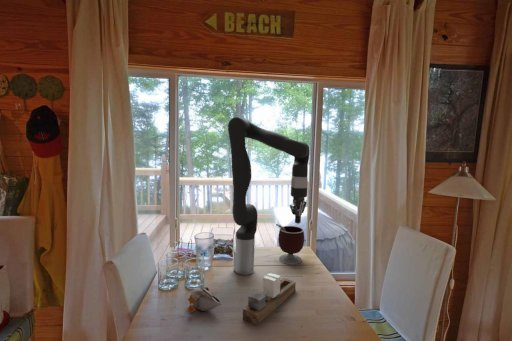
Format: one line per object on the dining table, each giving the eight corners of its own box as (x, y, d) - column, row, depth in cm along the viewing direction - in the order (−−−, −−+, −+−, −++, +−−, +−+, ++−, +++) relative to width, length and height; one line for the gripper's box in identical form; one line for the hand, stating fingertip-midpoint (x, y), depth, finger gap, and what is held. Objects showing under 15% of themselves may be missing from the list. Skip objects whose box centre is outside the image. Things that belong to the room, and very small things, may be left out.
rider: (262, 299, 116) (262, 276, 115) (268, 293, 120) (269, 272, 119) (273, 303, 113) (274, 280, 112) (279, 298, 117) (280, 275, 116)
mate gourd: (300, 254, 168) (301, 220, 166) (305, 265, 154) (307, 228, 152) (273, 254, 167) (274, 220, 165) (276, 265, 153) (277, 227, 151)
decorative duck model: (199, 278, 123) (232, 283, 119) (198, 296, 123) (232, 301, 119) (179, 292, 109) (216, 298, 105) (179, 312, 109) (216, 319, 105)
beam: (242, 319, 106) (243, 298, 106) (283, 286, 131) (283, 269, 130) (256, 325, 103) (257, 304, 102) (295, 290, 128) (296, 273, 127)
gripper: (298, 183, 142) (296, 218, 143) (285, 186, 131) (283, 224, 132) (312, 185, 137) (311, 221, 139) (300, 188, 126) (298, 228, 128)
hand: (297, 223), depth 136 cm, fingers closed
